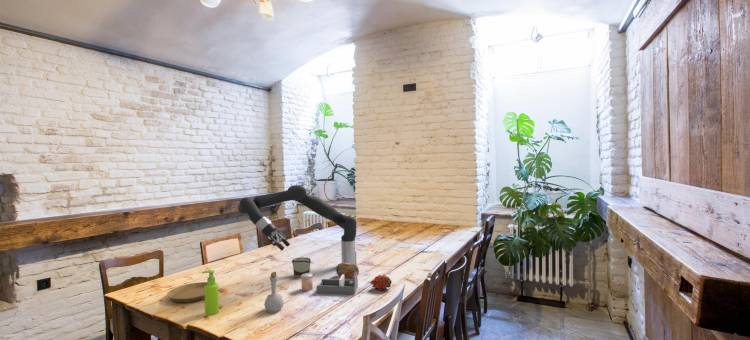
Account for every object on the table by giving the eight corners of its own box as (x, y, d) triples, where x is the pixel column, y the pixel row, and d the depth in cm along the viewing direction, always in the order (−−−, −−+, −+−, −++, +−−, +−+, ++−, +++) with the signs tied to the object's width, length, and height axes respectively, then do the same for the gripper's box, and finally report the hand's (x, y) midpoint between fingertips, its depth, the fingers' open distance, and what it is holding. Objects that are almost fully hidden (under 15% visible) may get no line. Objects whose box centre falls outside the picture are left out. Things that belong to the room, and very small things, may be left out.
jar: (310, 286, 198) (310, 272, 198) (314, 289, 193) (314, 275, 193) (299, 288, 195) (299, 274, 195) (303, 292, 190) (303, 277, 190)
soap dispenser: (205, 310, 168) (204, 269, 167) (220, 309, 168) (219, 268, 168) (200, 316, 162) (199, 273, 161) (216, 315, 163) (215, 272, 162)
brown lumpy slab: (335, 276, 216) (335, 262, 215) (338, 274, 218) (338, 261, 218) (357, 279, 209) (356, 265, 208) (359, 278, 211) (359, 264, 211)
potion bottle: (287, 307, 171) (286, 270, 170) (276, 315, 162) (275, 276, 162) (271, 305, 174) (271, 268, 173) (260, 312, 165) (259, 274, 165)
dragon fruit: (393, 292, 192) (371, 295, 193) (392, 279, 199) (371, 282, 200) (391, 283, 187) (369, 286, 188) (390, 270, 194) (368, 273, 194)
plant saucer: (171, 291, 194) (171, 285, 194) (219, 285, 203) (219, 279, 203) (162, 308, 172) (162, 301, 172) (216, 300, 180) (216, 294, 180)
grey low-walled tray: (316, 293, 188) (316, 276, 188) (322, 285, 199) (321, 270, 199) (354, 294, 186) (354, 277, 186) (357, 287, 197) (357, 271, 196)
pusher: (339, 290, 188) (339, 279, 188) (342, 285, 196) (342, 274, 196) (341, 290, 188) (341, 279, 188) (344, 285, 196) (344, 274, 196)
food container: (313, 272, 222) (313, 257, 222) (311, 276, 216) (311, 260, 215) (295, 272, 223) (294, 256, 223) (291, 275, 217) (291, 259, 217)
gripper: (265, 224, 188) (286, 246, 187) (275, 219, 202) (295, 239, 201) (255, 234, 189) (276, 255, 188) (266, 228, 203) (286, 248, 202)
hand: (286, 247), depth 195 cm, fingers open, 8 cm apart
